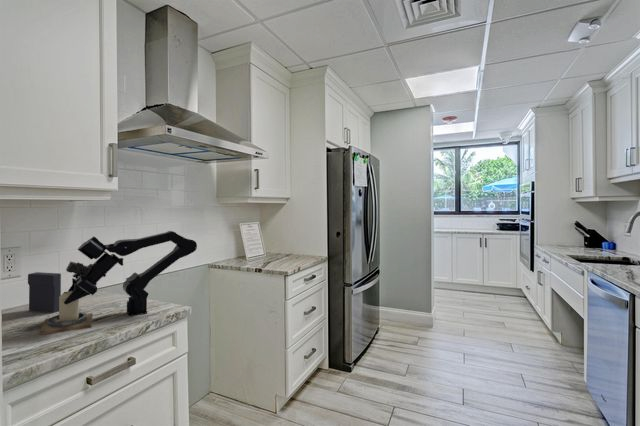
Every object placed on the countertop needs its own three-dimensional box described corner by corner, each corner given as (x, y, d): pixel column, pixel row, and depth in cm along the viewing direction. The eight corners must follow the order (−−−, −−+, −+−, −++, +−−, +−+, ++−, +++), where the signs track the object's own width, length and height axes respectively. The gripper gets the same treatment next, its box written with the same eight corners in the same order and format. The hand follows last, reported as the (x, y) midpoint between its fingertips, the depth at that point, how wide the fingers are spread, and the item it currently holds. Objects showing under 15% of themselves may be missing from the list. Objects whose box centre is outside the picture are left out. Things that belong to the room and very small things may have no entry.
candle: (55, 322, 115) (55, 293, 114) (66, 316, 120) (66, 289, 120) (72, 322, 115) (72, 293, 115) (82, 316, 121) (82, 289, 120)
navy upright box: (62, 310, 132) (62, 273, 132) (52, 313, 128) (53, 275, 128) (37, 308, 134) (38, 271, 133) (27, 311, 129) (27, 273, 129)
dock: (92, 315, 127) (92, 309, 127) (91, 327, 115) (91, 320, 115) (45, 321, 119) (45, 314, 119) (39, 334, 108) (39, 327, 108)
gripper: (79, 250, 127) (42, 283, 120) (85, 256, 113) (43, 294, 106) (104, 268, 132) (69, 300, 125) (112, 276, 118) (74, 313, 111)
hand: (64, 301), depth 117 cm, fingers closed on candle, 5 cm apart
